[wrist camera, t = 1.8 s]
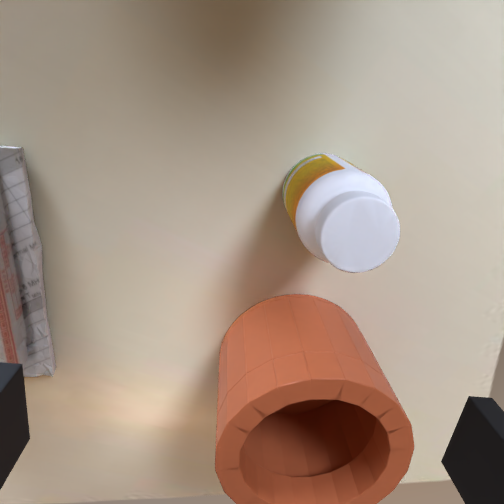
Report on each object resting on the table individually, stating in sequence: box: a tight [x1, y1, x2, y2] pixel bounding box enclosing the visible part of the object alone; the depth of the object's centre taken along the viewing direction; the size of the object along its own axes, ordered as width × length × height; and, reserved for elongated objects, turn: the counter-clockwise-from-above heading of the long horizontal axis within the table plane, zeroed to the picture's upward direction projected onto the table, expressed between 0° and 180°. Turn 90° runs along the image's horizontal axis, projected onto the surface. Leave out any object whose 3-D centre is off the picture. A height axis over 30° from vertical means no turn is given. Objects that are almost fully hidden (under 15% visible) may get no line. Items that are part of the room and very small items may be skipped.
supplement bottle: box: [283, 153, 400, 273], centre depth 24 cm, size 5×5×10 cm
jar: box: [215, 294, 414, 504], centre depth 29 cm, size 12×12×10 cm
